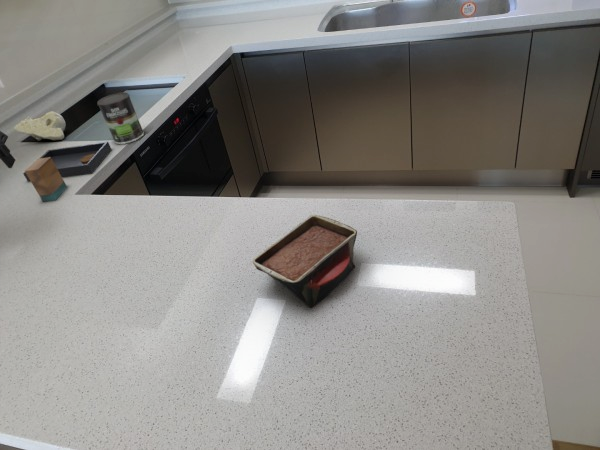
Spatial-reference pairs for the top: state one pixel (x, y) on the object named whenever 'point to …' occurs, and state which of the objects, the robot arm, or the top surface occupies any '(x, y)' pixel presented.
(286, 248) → the baking dish
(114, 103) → the coffee can
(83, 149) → the pan
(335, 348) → the top surface
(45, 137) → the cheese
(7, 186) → the top surface
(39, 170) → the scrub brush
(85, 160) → the grease smear
